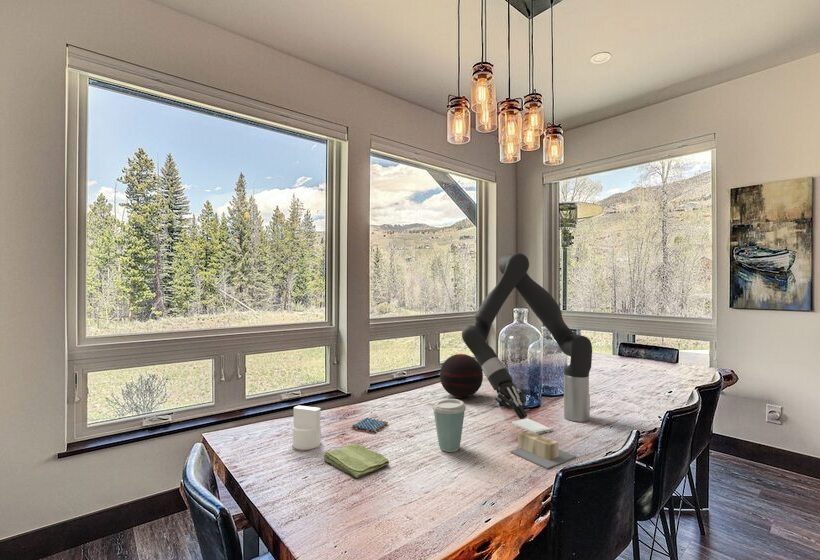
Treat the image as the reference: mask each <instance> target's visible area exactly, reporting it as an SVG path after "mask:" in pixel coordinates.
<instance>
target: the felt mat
mask: <svg viewBox="0 0 820 560" xmlns="http://www.w3.org/2000/svg"><path fill="white" fill-rule="evenodd" d="M510 452H511V454H513V455H515V456H517V457H519V458H522V459H524V460H527V461H528V462H531V463H532V464H534V465H537V466H539V467H542V468H544V469H546V470H549V469H552V468H554V467H556V466H559V465H561V464H564V463H565V462H569V461H571V460H574V459H576V458H577V456H576V455H573V454H571V453H569V452H566V451H563V450H560V449H559V457H556V458H554V459H551V460H548V459H545V458H543V457H541V456H538V455H536V454H534V453H531V452H529V451H527V450H524V449H522V448H519V447H518V448H516V449H513V450H510Z"/></svg>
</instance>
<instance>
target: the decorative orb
mask: <svg viewBox="0 0 820 560" xmlns="http://www.w3.org/2000/svg"><path fill="white" fill-rule="evenodd" d="M439 378H440V379H439V380H440V383H441V385H442V388H443V389H444V390H445V392H446V393H448V394H449V395H451V396H452V397H455V398H459V399H460V398H461V399H465V398H469V397H471V396H473V395H475V394H476V393H477V392H478V391H479V390H480V388H481V386H482V384H483V381H484V372H483V370H482V368H481V366H480V364H479V363H478V361H477V359H476V358H475V357H473V356H471V355H468V354H465V353H457V354H456V353H455V354H454V355H451V356H449V357H448V358H447V359H445V361H444V362H443V363H442V365H441V367H440V371H439Z"/></svg>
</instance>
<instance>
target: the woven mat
mask: <svg viewBox="0 0 820 560" xmlns="http://www.w3.org/2000/svg"><path fill="white" fill-rule="evenodd" d="M388 426H389V423H388V421H387V420H384V421H383V420H382V419H380V420H379V419H376V418H369V417H366V418H363V419H361V420H358V421H357V422H356V423H354V424H353V425H352V426H351V430H353V431H358V432H363V433H368V434H371V435H372V434H373V435H375V434H376V433H378V432H380V431H381V430H383V429H384V428H387V427H388Z"/></svg>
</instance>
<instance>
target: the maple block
mask: <svg viewBox="0 0 820 560" xmlns="http://www.w3.org/2000/svg"><path fill="white" fill-rule="evenodd" d="M517 438H518V439H517V443H518V445H517V447H518V448H522V449H524V450H527V451H529V452H531V453H534V454H536V455H538V456H541V457H543V458H545V459H548V460H551V459H554V458H556V457H559V450H560V449H559V446H560V445H559V444H560V443H559V441H557V440H554V439H552V438H549V437H547V436H543V435H542V434H536V433H533V432H530V431H528V430H527V431H526V430H524V431H520V432H518V433H517Z"/></svg>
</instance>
